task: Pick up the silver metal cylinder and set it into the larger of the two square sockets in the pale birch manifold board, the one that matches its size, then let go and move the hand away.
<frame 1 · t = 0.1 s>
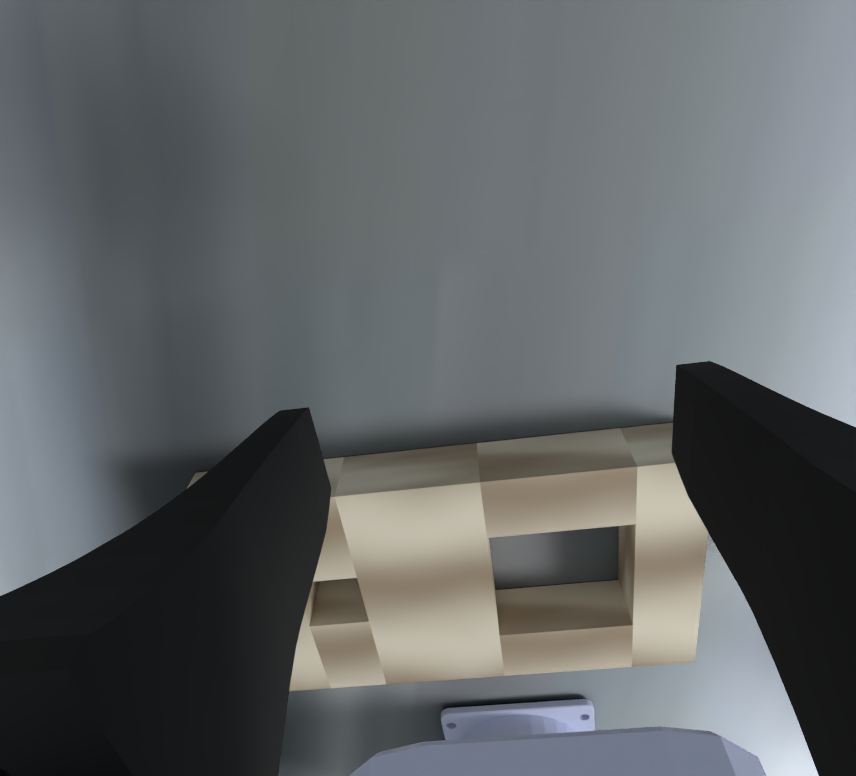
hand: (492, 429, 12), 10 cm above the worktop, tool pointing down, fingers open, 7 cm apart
manifold board: (451, 548, 27), on the worktop
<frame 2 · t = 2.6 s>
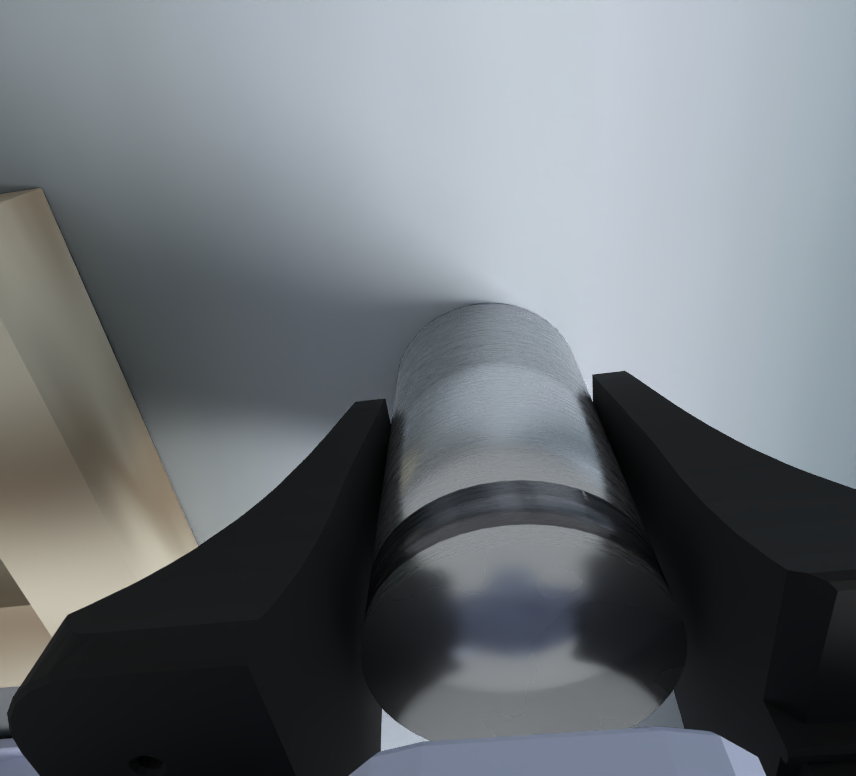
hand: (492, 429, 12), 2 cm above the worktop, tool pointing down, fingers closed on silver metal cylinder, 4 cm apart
silver metal cylinder: (486, 387, 14), on the worktop, touching gripper
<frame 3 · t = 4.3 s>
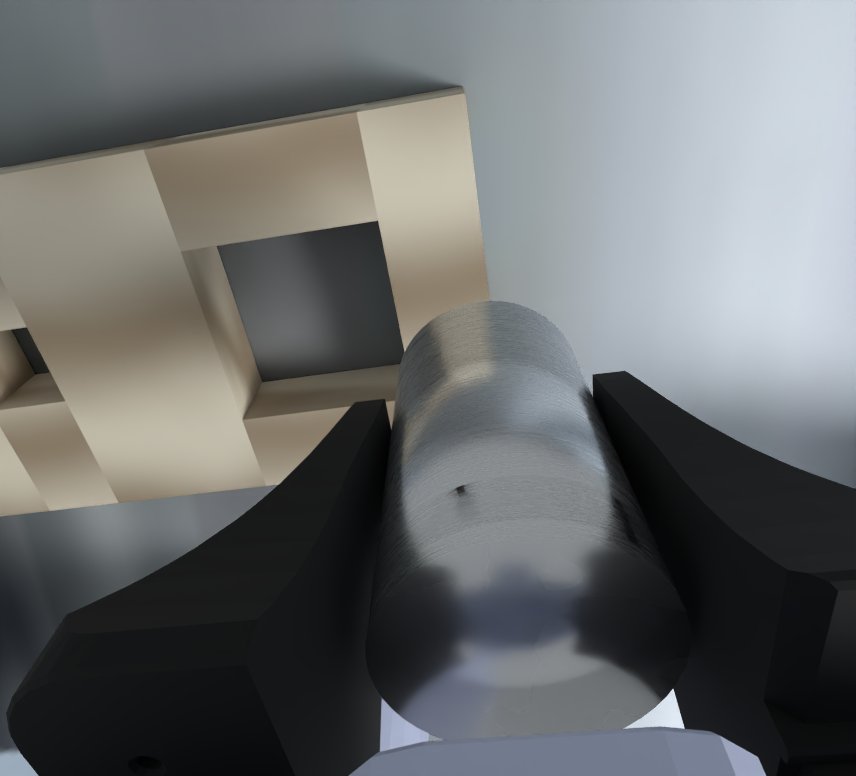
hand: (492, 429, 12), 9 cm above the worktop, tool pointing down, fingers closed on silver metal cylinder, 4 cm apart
manifold board: (189, 316, 21), on the worktop
silver metal cylinder: (487, 385, 14), point 7 cm above the worktop, touching gripper
when the fingers open (3 cm above the worktop, at t = 6.5 s): silver metal cylinder drops 1 cm, resting in manifold board.
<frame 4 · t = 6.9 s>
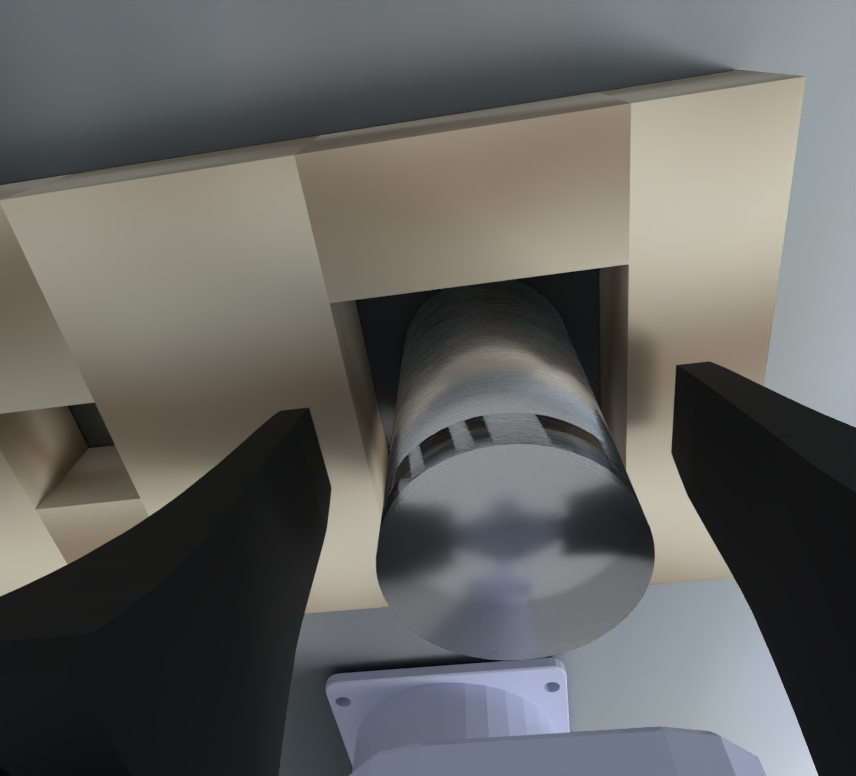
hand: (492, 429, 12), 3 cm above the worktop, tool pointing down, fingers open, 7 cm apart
manifold board: (304, 379, 15), on the worktop
silver metal cylinder: (485, 355, 15), resting in manifold board
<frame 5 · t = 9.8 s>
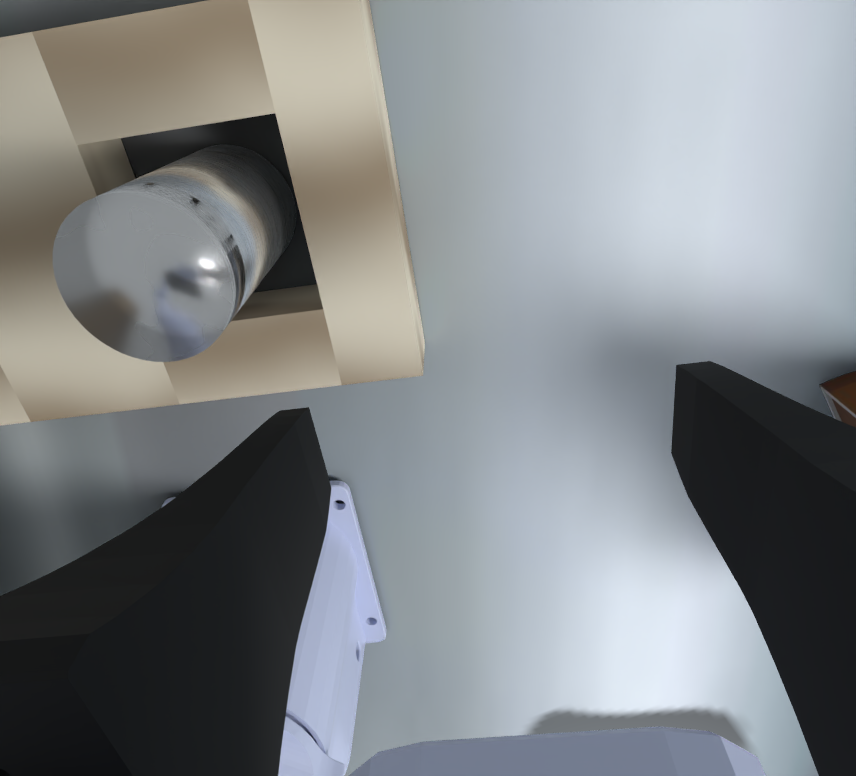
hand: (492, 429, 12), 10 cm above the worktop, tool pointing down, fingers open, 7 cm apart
manifold board: (103, 230, 20), on the worktop
silver metal cylinder: (234, 209, 20), resting in manifold board
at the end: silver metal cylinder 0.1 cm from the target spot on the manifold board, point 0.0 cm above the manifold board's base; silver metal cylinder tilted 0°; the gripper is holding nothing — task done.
